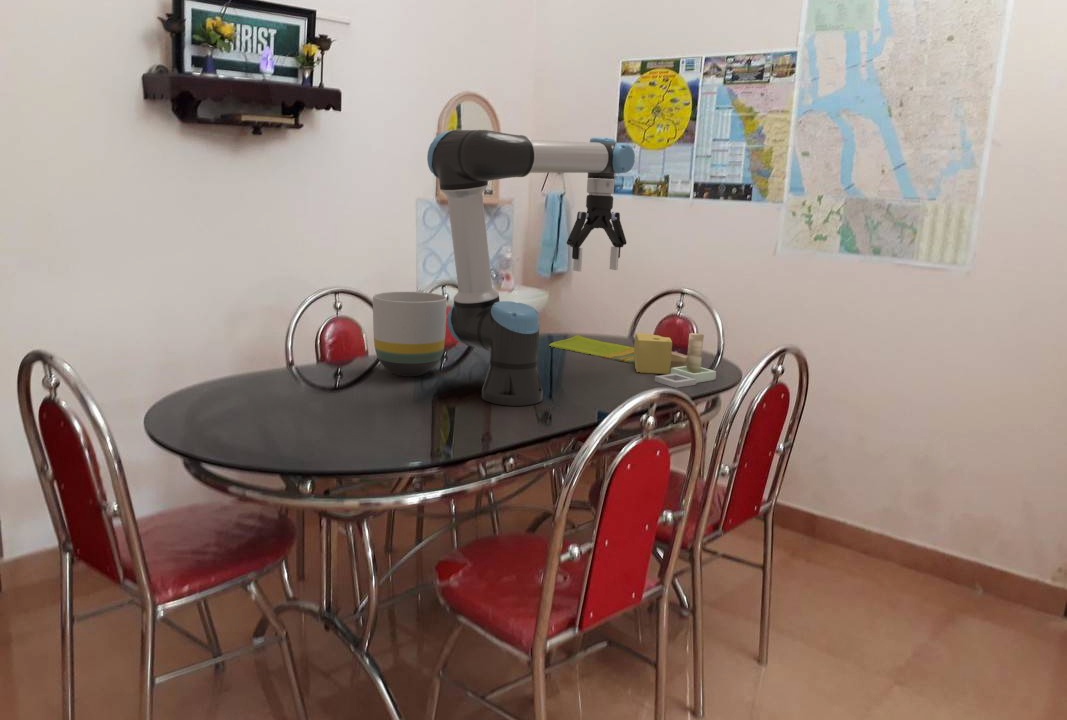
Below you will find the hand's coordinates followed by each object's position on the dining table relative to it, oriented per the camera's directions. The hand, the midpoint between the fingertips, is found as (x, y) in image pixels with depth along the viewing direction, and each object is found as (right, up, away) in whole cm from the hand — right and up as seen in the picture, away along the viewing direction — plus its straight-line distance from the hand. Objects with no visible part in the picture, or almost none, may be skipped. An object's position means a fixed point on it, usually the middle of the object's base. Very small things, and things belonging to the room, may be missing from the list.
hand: (595, 270), depth 239 cm
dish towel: (+6, -24, +29) cm, 38 cm away
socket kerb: (+21, -32, -8) cm, 39 cm away
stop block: (+25, -28, +13) cm, 39 cm away
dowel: (+28, -30, -1) cm, 41 cm away
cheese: (+17, -29, +7) cm, 34 cm away
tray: (+28, -31, -1) cm, 41 cm away
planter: (-52, -30, -11) cm, 61 cm away
